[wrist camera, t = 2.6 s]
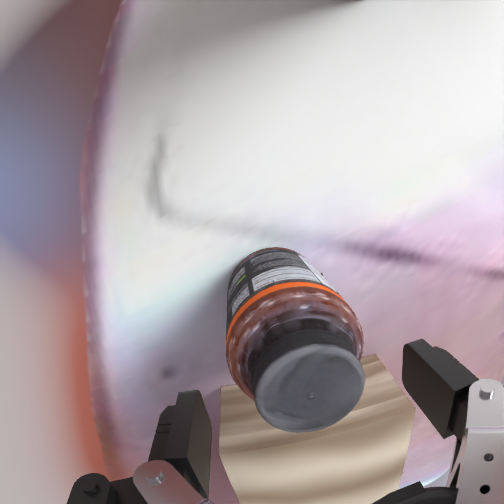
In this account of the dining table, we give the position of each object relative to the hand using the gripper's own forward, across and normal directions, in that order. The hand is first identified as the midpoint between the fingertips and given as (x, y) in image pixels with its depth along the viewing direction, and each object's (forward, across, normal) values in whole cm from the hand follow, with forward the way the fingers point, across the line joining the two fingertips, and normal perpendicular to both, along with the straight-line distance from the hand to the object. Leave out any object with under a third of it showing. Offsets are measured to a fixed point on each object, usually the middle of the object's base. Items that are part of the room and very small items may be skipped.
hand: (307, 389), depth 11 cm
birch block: (+11, -1, +12) cm, 16 cm away
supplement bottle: (+10, 0, -1) cm, 11 cm away
